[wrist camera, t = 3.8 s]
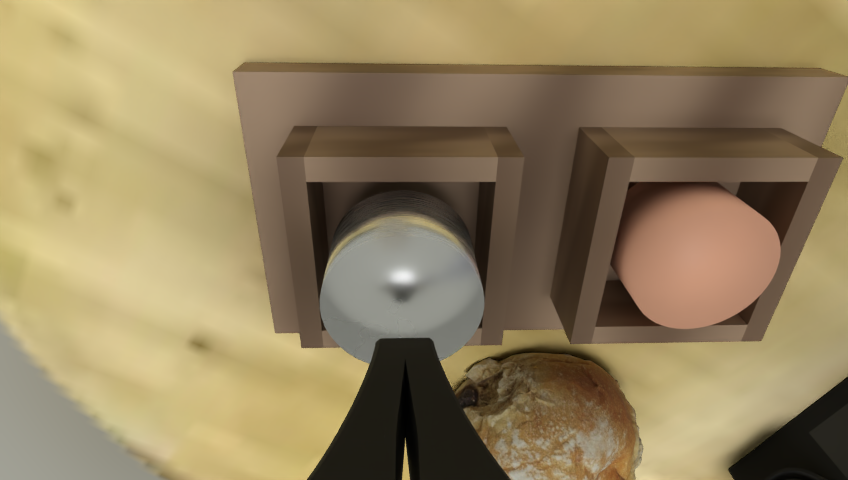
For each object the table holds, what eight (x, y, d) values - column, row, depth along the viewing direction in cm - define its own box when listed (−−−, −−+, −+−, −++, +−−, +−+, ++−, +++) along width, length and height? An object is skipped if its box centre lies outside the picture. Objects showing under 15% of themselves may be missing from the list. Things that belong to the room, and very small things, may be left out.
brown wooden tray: (819, 68, 19) (928, 100, 15) (726, 306, 25) (789, 374, 21) (244, 62, 18) (201, 95, 14) (282, 311, 24) (258, 384, 20)
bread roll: (533, 285, 28) (510, 350, 21) (683, 413, 27) (715, 527, 20) (428, 395, 32) (377, 482, 24) (556, 510, 31) (543, 636, 24)
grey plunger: (476, 189, 17) (491, 235, 14) (467, 309, 19) (478, 367, 16) (325, 190, 16) (312, 237, 14) (336, 310, 19) (325, 369, 16)
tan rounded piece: (746, 169, 18) (804, 206, 16) (707, 280, 21) (751, 328, 18) (615, 169, 18) (651, 207, 16) (591, 281, 21) (619, 329, 18)
